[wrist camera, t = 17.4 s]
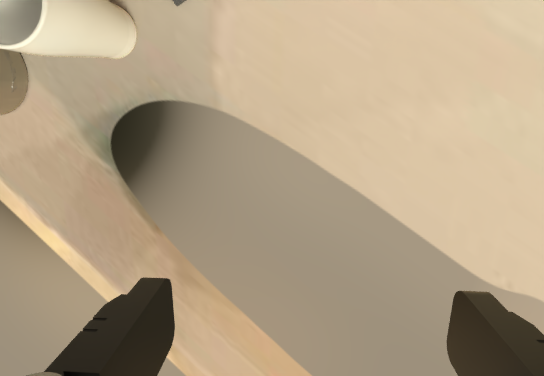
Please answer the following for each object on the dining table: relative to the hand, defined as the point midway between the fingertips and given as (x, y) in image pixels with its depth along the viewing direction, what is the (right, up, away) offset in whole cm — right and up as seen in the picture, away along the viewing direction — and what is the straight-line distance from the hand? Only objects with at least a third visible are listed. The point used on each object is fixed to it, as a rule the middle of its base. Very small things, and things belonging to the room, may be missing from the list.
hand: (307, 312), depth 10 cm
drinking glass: (-18, +20, +27) cm, 38 cm away
